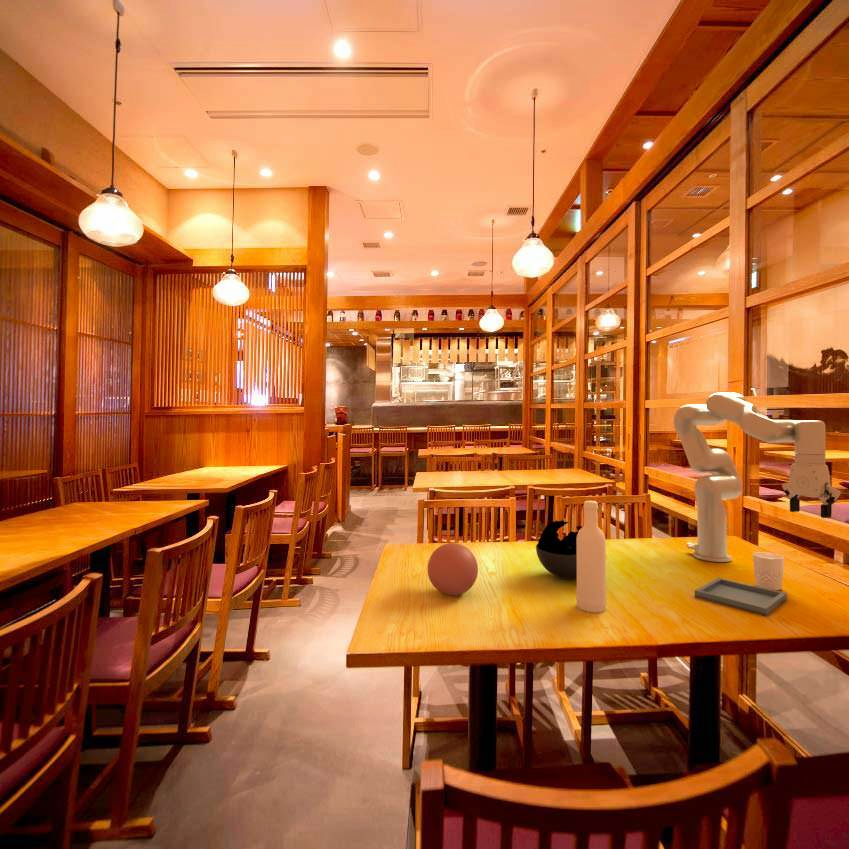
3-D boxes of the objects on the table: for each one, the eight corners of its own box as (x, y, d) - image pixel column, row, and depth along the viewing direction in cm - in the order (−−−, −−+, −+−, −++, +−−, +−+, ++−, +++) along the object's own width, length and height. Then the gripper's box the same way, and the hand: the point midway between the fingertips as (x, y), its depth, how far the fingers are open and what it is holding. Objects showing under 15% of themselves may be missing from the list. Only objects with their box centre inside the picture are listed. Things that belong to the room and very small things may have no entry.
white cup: (778, 584, 152) (778, 553, 152) (788, 592, 145) (788, 559, 145) (749, 581, 155) (749, 551, 155) (757, 589, 148) (757, 557, 147)
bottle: (602, 615, 129) (602, 504, 128) (573, 609, 133) (572, 502, 133) (608, 605, 135) (608, 500, 135) (580, 600, 140) (580, 498, 139)
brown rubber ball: (463, 578, 159) (463, 533, 159) (485, 600, 140) (485, 548, 140) (419, 582, 156) (418, 536, 156) (435, 605, 136) (434, 552, 136)
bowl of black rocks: (530, 568, 171) (530, 515, 171) (587, 568, 170) (586, 515, 170) (543, 587, 151) (542, 528, 151) (606, 587, 150) (606, 528, 150)
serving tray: (694, 597, 142) (694, 590, 142) (718, 583, 153) (718, 577, 153) (766, 616, 128) (766, 608, 128) (786, 600, 139) (786, 593, 139)
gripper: (774, 458, 156) (774, 510, 156) (829, 462, 139) (829, 520, 139) (792, 457, 157) (792, 509, 158) (849, 461, 141) (849, 519, 141)
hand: (809, 514), depth 148 cm, fingers open, 9 cm apart
